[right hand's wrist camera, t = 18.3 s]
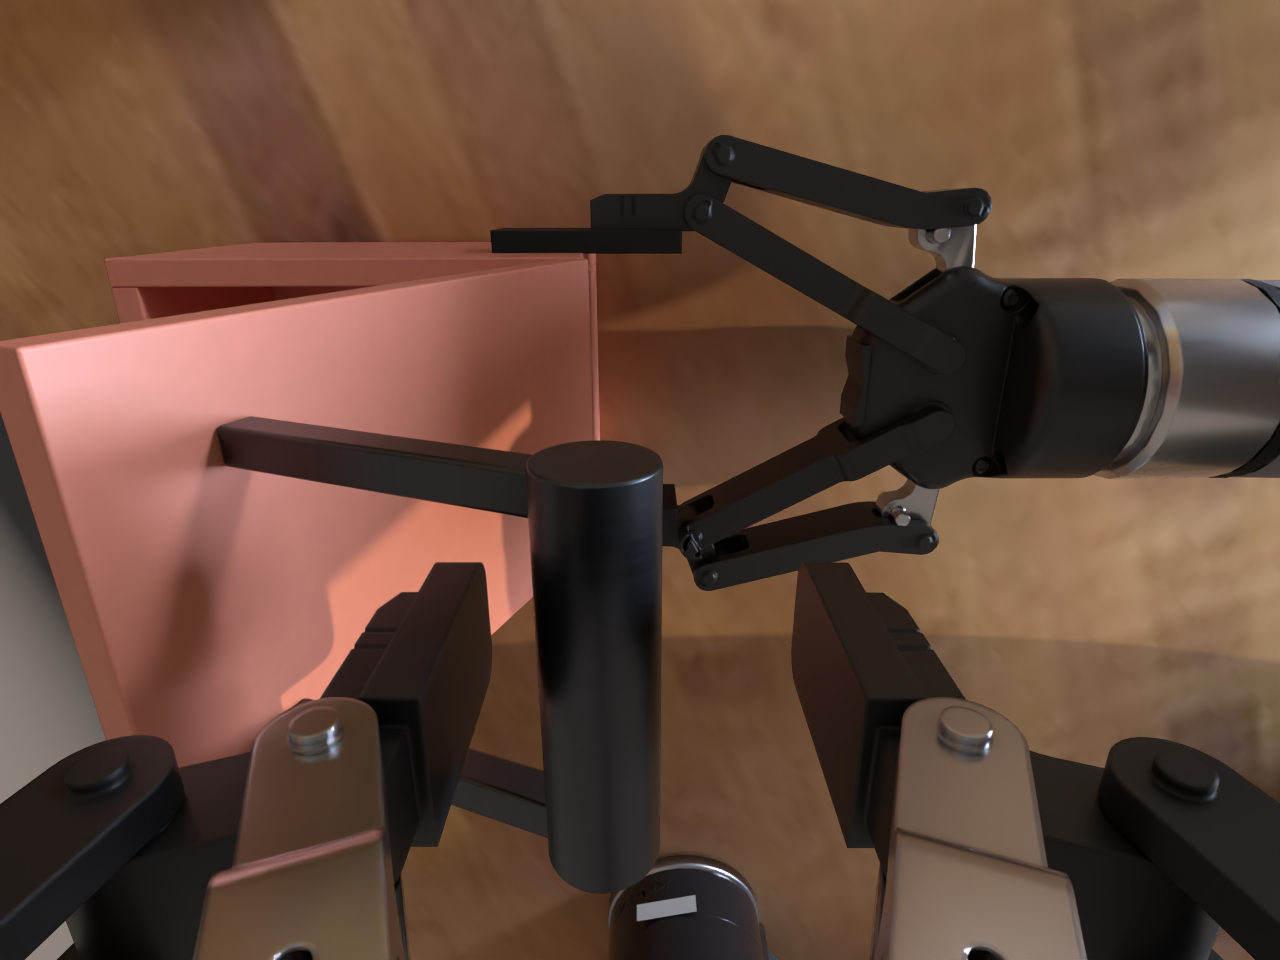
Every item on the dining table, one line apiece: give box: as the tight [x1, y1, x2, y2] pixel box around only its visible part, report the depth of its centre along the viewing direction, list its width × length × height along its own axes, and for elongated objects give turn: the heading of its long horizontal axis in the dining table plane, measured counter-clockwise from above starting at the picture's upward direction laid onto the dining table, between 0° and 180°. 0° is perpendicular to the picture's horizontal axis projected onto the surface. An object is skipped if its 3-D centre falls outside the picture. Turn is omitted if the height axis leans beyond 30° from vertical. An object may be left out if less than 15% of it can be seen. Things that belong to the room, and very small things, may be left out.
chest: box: [104, 242, 600, 440], centre depth 30 cm, size 15×10×10 cm, turn 90°
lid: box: [0, 258, 663, 893], centre depth 16 cm, size 16×10×8 cm
